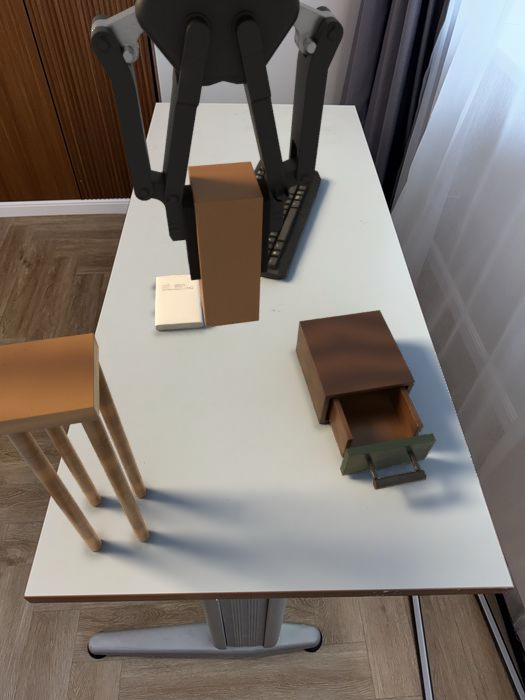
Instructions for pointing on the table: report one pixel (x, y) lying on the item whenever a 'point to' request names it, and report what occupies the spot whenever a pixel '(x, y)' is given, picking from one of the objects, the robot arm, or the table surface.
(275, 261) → the keyboard
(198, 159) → the table surface
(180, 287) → the hard drive
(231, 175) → the block
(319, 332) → the cabinet
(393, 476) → the drawer
